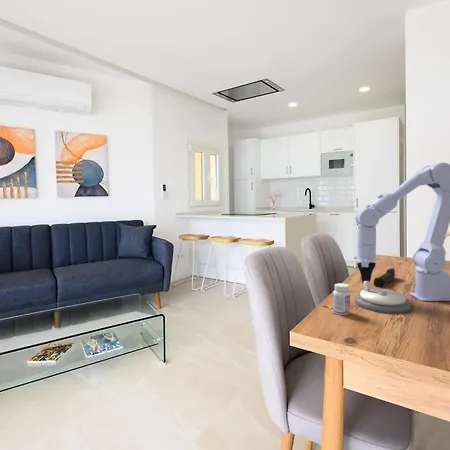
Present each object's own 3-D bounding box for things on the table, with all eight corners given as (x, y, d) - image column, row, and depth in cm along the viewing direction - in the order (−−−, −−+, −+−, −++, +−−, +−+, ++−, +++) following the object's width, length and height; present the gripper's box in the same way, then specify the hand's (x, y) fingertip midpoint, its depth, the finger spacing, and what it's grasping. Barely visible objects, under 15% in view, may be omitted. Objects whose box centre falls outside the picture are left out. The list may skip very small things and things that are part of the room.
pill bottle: (348, 316, 93) (348, 287, 92) (331, 313, 95) (331, 285, 94) (351, 311, 97) (351, 283, 96) (335, 308, 99) (335, 282, 98)
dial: (414, 300, 100) (414, 286, 100) (390, 308, 93) (391, 293, 93) (375, 290, 111) (375, 277, 111) (351, 297, 104) (351, 284, 104)
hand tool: (384, 289, 119) (384, 276, 119) (373, 287, 122) (373, 275, 122) (400, 279, 133) (401, 268, 132) (390, 278, 136) (390, 267, 135)
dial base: (396, 296, 110) (396, 291, 110) (422, 313, 94) (422, 307, 94) (348, 296, 111) (348, 292, 111) (366, 313, 95) (366, 308, 95)
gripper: (356, 241, 117) (355, 277, 118) (351, 246, 104) (351, 288, 106) (377, 242, 114) (376, 279, 115) (375, 248, 101) (374, 290, 102)
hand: (366, 283), depth 110 cm, fingers closed
